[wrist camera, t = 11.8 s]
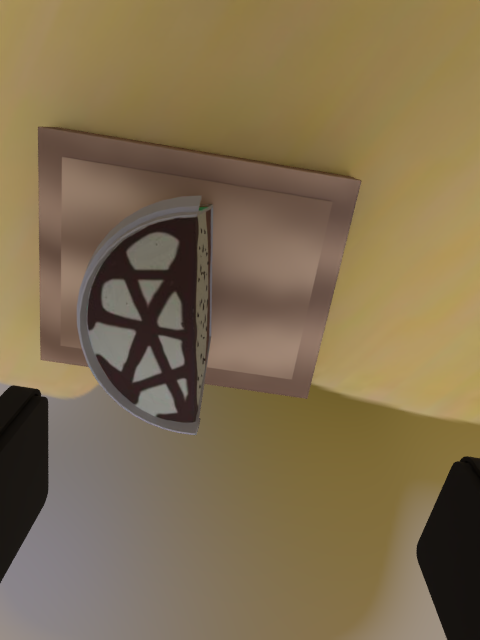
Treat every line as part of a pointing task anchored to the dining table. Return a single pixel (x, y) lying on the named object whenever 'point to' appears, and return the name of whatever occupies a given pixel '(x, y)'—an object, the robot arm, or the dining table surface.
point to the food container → (152, 312)
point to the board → (228, 247)
